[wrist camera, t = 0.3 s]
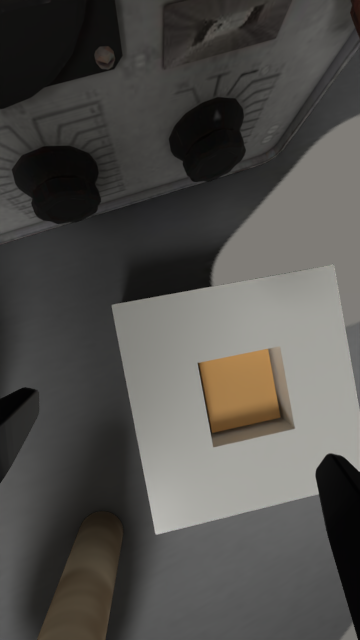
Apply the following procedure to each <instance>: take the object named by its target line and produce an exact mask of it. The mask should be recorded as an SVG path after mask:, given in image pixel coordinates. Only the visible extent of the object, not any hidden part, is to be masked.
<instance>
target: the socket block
mask: <svg viewBox="0 0 360 640" xmlns="http://www.w3.org/2000/svg"><path fill="white" fill-rule="evenodd" d="M111 306H112V311H113V316H114V322H115V327H116V332H117V337H118V342H119V348H120V353H121V358H122V363H123V368H124V373H125V379H126V384H127V389H128V394H129V399H130V404H131V410H132V415H133V420H134V425H135V430H136V435H137V441H138V446H139V451H140V456H141V461H142V466H143V472H144V477H145V482H146V487H147V492H148V497H149V503H150V508H151V513H152V518H153V523H154V528H155V534H156V535H157V534H161V533H165V532H169V531H173V530H177V529H181V528H185V527H189V526H193V525H197V524H201V523H205V522H209V521H213V520H217V519H221V518H225V517H229V516H233V515H237V514H241V513H245V512H249V511H253V510H257V509H261V508H265V507H269V506H273V505H277V504H281V503H285V502H289V501H293V500H297V499H301V498H305V497H309V496H313V495H317V494H319V492H318V487H317V482H316V477H315V473H316V469H317V467H318V466H319V464H320V463H321V461H322V460H323V459H324V457H325V456H326V455H327V454H329V453H332V454H337V455H341V456H343V457H345V458H346V459H347V460H348V461H349V462H350V463H351V464H352V465H353V466H354V467H355V468H356V469H357V470H358V471H359V472H360V410H359V404H358V398H357V393H356V387H355V381H354V375H353V370H352V364H351V358H350V353H349V347H348V341H347V335H346V330H345V324H344V319H343V313H342V307H341V301H340V296H339V290H338V284H337V279H336V273H335V267H334V264H333V265H328V266H322V267H317V268H312V269H306V270H300V271H295V272H289V273H284V274H279V275H273V276H268V277H262V278H256V279H251V280H246V281H240V282H235V283H229V284H223V285H218V286H212V287H207V288H201V289H196V290H190V291H185V292H179V293H174V294H168V295H163V296H157V297H152V298H146V299H141V300H135V301H130V302H124V303H119V304H113V305H111ZM264 349H268V351H269V357H270V362H271V368H272V373H273V379H274V384H275V390H276V395H277V401H278V406H279V412H280V417H281V418H277V419H272V420H268V421H263V422H259V423H255V424H250V425H246V426H241V427H237V428H232V429H228V430H223V431H219V432H215V433H212V431H211V429H210V424H209V422H208V417H207V411H206V406H205V401H204V395H203V390H202V385H201V379H200V374H199V369H198V363H200V362H205V361H210V360H215V359H220V358H224V357H229V356H234V355H239V354H244V353H249V352H254V351H259V350H264Z"/></svg>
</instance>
